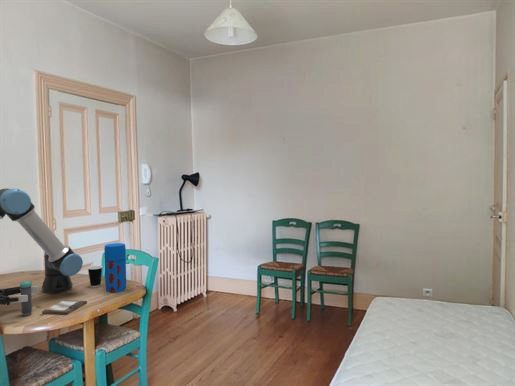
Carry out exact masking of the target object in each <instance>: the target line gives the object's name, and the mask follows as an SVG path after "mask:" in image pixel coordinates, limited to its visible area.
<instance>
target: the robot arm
mask: <svg viewBox="0 0 515 386" xmlns="http://www.w3.org/2000/svg"><path fill="white" fill-rule="evenodd" d="M35 208H36V206H35V205H34V204H33V202H32V199H31V196H30V195H29V193H27V192H26V191H24V190H22V189H19V188H2V189H0V220H2V219H4V217H5V216H6V215H7V217H8V218H9V219H10V220H11V222H17V223H18V224H19V225H20V226H21V227H22V228H23V230H25V232H26V233H27V234H28V235H29V236H30V237H31V238H32V239H33V240H34V241H35V243H36V244H37V245H38V246H39V247H40V248H41V249H42V250H43V252H44V255H43V257H44V280H43V283H42V286H41V292H42V293H45V294H57V293H63V292H68V291H70V290H72V289H73V288H74V287H73V285H74V284H73V282H72V280H71V277H72V276H75V275H76V274H78V273H79V272H80V271H81V269H82V268H83V263H84V261H83V258H82V257H81V255H80V254H78V253H75V252H74V250H73V249H72V248H71V247H70V246H69V245H67V244H66V245H64V244H63V243H62V241H61V240H60V239H59V238H58V237H57V235H56V234H55V233H54V232H53V231H52V229H50V227H49V226H48V225H47V224H46V223H45V221H43V219H42V218H41V217H40V216H39V214H38V213H37V212H36V211H35ZM32 293H33V294H34V293H35V294H36V293H39V286H37V285H36V286H34V285H33V286H31V294H32ZM18 294H20V295H18ZM27 301H28V295H21V288H20V285H19V286H14V287H9V288H7V287H6V288H0V305H3V306H5V305H7V306H10V305H11V304H12V303H21V302H27Z"/></svg>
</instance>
